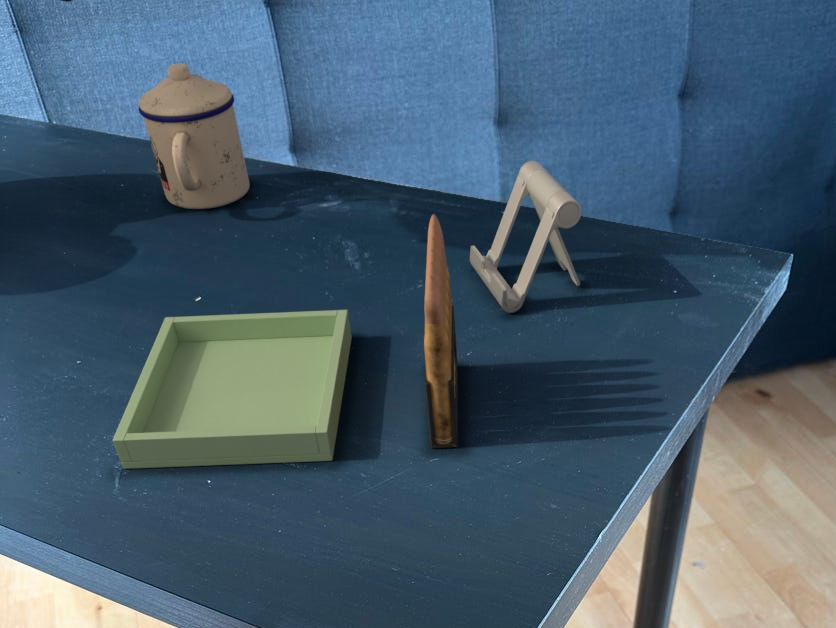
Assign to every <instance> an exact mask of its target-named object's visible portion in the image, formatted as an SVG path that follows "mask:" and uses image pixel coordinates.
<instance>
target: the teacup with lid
mask: <svg viewBox="0 0 836 628" xmlns="http://www.w3.org/2000/svg"><path fill="white" fill-rule="evenodd" d="M167 74H168V76H167V77H165V78H164V79H162V80H161V81H159V83H158V84H157V86H155V87H153V88H151V89H149V90H147V91H145V92H144V93H143V94H142V95H141V96H140V99H139V101H138V112H139V114H140V115H141V116H142V117H143V121H144V124H145V128H146V131H147V135H148V140H149V142H150V146H151V150H152V152H153V157H154V161H155V164H156V167H157V171H158V175H159V178H160V182H161V185H162V189H163V191H164V192H163V193H164V196H165V199H166V200H167V201H168V202H169V203H170V204H171V205H173V206H176V207H178V208H182V209H186V210H187V209H188V210H208V209H214V208H215V209H216V208H219V207H224V206H227V205H230V204H232V203H235V202H236V201H238V200H240V199H242V198H243V197H244V196H245V195H246V194H247V193H248V192H249V190H250V187H251V186H250V185H251V184H250V179H249V173H248V168H247V164H246V160H245V159H246V158H245V155H244V151H243V146H242V142H241V141H242V140H241V136H240V131H239V126H238V122H237V117H236V113H235V108H234V103H235V95H234V94H233V93H232V90H231V89H230V88H229V87H228V86H227V85H226V84H224V83H222V82H219V81H215V80H211V79H206V78H204V77H203V76H200V75H198V74H194V73H191V71H190V67H189V66H188V65H187V64H186V63H178V62H177V63H173V64H170V65H169V66H168V68H167Z"/></svg>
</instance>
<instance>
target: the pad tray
mask: <svg viewBox="0 0 836 628" xmlns="http://www.w3.org/2000/svg"><path fill="white" fill-rule="evenodd" d="M351 329H352V328H351V323H350V316H349V310H348V309H333V310H308V311H306V310H305V311H285V312H283V311H282V312H259V313H240V314H237V313H236V314H234V313H233V314H215V315H214V314H213V315H191V316H190V315H189V316H188V315H187V316H166V317H164V319H163V322H162V324H161V326H160V329H159V331H158V334H157V335H156V338H155V340H154V342H153V344H152V347H151V350H150V352H149V355H148V357H147V359H146V361H145V364H144V365H143V368H142V371H141V373H140V375H139V378H138V379H137V382H136V384H135V387H134V389H133V391H132V393H131V396H130V399H129V401H128V403H127V406H126V408H125V410H124V412H123V415H122V417H121V419H120V422H119V424H118V426H117V429H116V432H115V434H114V436H113V438H112V444H113V446H114V448H115V451H116V453H117V456H118V458H119V461H120V463H121V466H122V468H123V470H126V469H127V470H129V469H149V468H150V469H153V468H154V469H156V468H157V469H158V468H177V467H178V468H179V467H202V466H204V467H205V466H207V467H208V466H231V465H258V464H259V465H260V464H261V465H262V464H282V463H285V464H286V463H309V462H312V463H313V462H332V461H333V459H334V453H335V448H336V447H335V446H336V441H337V434H338V427H339V422H340V415H341V408H342V401H343V394H344V389H345V383H346V376H347V370H348V365H349V355H350V352H351V345H352V339H353V336H352V330H351Z"/></svg>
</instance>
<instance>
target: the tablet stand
mask: <svg viewBox="0 0 836 628" xmlns="http://www.w3.org/2000/svg"><path fill="white" fill-rule="evenodd" d="M527 196H529V197H530V199H531V202H532V204H533V207H534V209H535V211H536V214H537V217H538V218H539V224H538V227H537V229H536V232H535V235H534V236H533V240H532V242H531V245H530V247H529V249H528V252H527V255H526V257H525V260H524V263H523V264H522V267H521V270H520V272H519V275H518V278H517V280H516V282H515V283H514V284H513V285H512V287H511V286H510V285H509V284H508V282H507V281H506V279H504V276H502V274H501V273H500V272H499V270H498V266H499V264H500V261H501V259H502V255H503V254H504V251H505V248H506V245H507V243H508V240H509V237H510V234H511V232H512V229H513V227H514V223H515V221H516V218H517V216H518V213H519V210H520V208H521V205H522V202H523V200H524V198H526V197H527ZM581 218H582V207H581V205H580V203H579V202H578V201H577V200H576V199H575V198H574V197H573V196H572V195H571V194H570V193H569V192H568V191H567V190H566V188H564V187H563V186H562V185H561V183H559V182H558V181H557V180H556V179H555V178H554V177H553V176H552V175H551V174H550V173H549V172H548V171H547V170H546V168H544V166H542V165H541V164H540V163H539V162H538V161H536V160H529V161H527V162H525V163H524V164H522V165H521V167H520V169H519V171H518V173H517V177H516V179H515V182H514V184H513V188H512V190H511V193H510V196H509V197H508V201H507V204H506V207H505V209H504V211H503V215H502V217H501V220H500V222H499V225H498V228H497V230H496V232H495V233H496V234H495V236H494V239H493V242H492V244H491V247H490V249H488V251H487V253H486V256H485V255H482V253H481V252H480V251H479V249H478V248H477V247H476V245H470V250H469V251H470V253H469V263H470V265H471V266H472V268H473V269H474V270H475V272H476V273H477V274H478V276H479V278H480V279H481V280H482V282H483V284H485V286H486V287H487V289H488V290H489V291H490V293H491V294H492V296H493V298H495V300H496V302H497V303H498V305H499V306H500V307H501V308H502V310H503V311H504V312H505V313H509V314H513V313H516V312H518V311H519V310H520V309H522V307H523V305H524V302H525V300H526V297H527V295H528V292H529V290H530V287H531V285H532V282H533V280H534V277H535V275H536V272H537V270H538V268H539V265H540V263H541V260H542V258H543V255H544V252H545V250H546V248H547V245H548V243H549V245H550V247H551V250H552V252H553V255H554V257H555V259H556V262H557V264H558V265H559V267H560V268H561V269H562V270H563V271H564V272H565V271H568V273H569V275H570V278H571V280H572V282H573V283H574V284H575V285H576V287H580V286H581V281H580V280H579V277H578V275H577V272H576V270H575V267H574V265H573V262H572V260H571V257H570V254H569V252H568V250H567V247H566V245H565V242H564V240H563V238H562V235H561V233H560V228H561V229H571V228H573V227H575V226H576V225H577V224H578V223H579V221H580V219H581Z"/></svg>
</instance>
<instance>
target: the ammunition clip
mask: <svg viewBox="0 0 836 628" xmlns="http://www.w3.org/2000/svg"><path fill="white" fill-rule="evenodd" d="M442 230H443V229H442V226H441V224H440V221H439V219H438V216H437V215H436V214H435V213H432V215H431V217H430V219H429V223H428V229H427V245H426V268H425V283H424V284H425V285H424V286H425V287H424V305H423V306H424V310H423V311H424V337H423V341H424V342H423V351H424V360H425V361H424V362H425V377H424V385H425V386H424V387H425V398H426V410H427V421H428V429H429V431H428V432H429V442H430V449H445V448H458V441H459V440H458V439H459V438H458V435H459V433H458V430H459V429H458V428H459V426H458V422H459V421H458V418H459V417H458V416H459V413H458V412H459V411H458V409H459V407H458V404H459V402H458V400H459V399H458V397H459V395H458V393H459V392H458V391H459V388H458V387H459V380H458V377H459V376H458V375H459V374H458V373H459V370H458V369H459V365H458V352H457V351H458V350H457V337H456V321H455V306H454V305H453V304H452V303H453V301H452V289H451V276H450V272H449V268H448V264H447V263H448V262H447V254H446V247H445V246H446V245H445V240H444V234H443V231H442Z"/></svg>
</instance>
